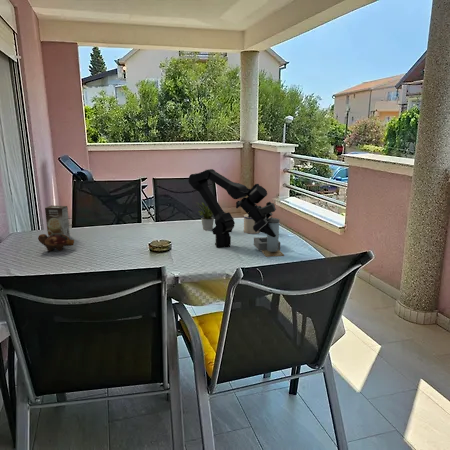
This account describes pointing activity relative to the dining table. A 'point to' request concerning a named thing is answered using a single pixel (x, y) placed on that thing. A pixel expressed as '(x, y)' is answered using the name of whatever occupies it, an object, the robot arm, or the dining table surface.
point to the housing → (262, 243)
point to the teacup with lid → (249, 225)
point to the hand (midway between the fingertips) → (276, 235)
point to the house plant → (206, 218)
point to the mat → (272, 253)
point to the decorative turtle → (55, 241)
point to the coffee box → (57, 220)
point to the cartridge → (273, 241)
